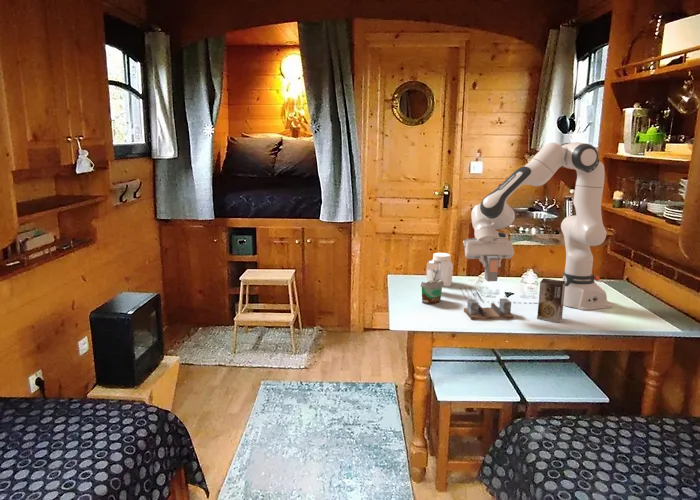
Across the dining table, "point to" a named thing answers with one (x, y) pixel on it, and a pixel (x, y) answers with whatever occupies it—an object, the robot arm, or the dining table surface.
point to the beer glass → (434, 270)
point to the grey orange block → (492, 268)
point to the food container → (432, 291)
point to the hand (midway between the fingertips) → (492, 266)
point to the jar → (445, 267)
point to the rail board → (489, 310)
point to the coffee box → (551, 300)
